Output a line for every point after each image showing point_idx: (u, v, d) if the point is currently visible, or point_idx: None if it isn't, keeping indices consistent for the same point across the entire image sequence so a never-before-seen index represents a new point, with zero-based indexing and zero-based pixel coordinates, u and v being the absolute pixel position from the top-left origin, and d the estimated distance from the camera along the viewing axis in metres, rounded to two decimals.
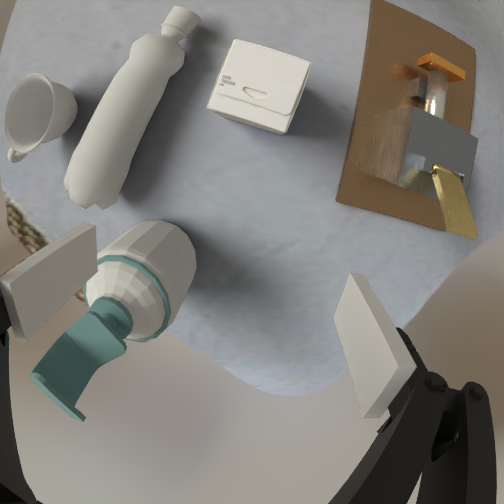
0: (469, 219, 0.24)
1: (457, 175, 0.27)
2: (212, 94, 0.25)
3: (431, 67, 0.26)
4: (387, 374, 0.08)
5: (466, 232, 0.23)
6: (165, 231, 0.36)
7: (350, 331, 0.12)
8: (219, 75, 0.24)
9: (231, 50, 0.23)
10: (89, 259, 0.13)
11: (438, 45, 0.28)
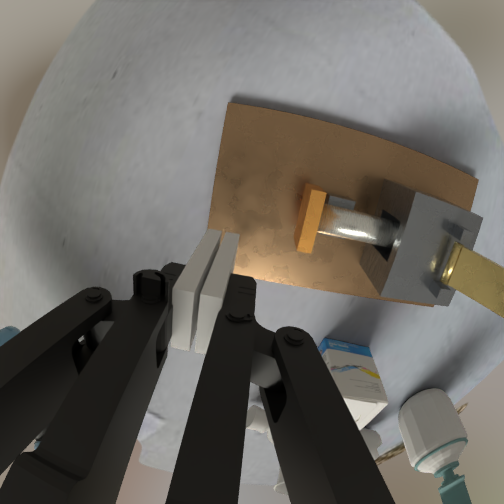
0: None
1: (458, 249, 0.23)
2: None
3: None
4: None
5: None
6: (412, 419, 0.40)
7: None
8: None
9: None
10: None
11: (251, 179, 0.31)
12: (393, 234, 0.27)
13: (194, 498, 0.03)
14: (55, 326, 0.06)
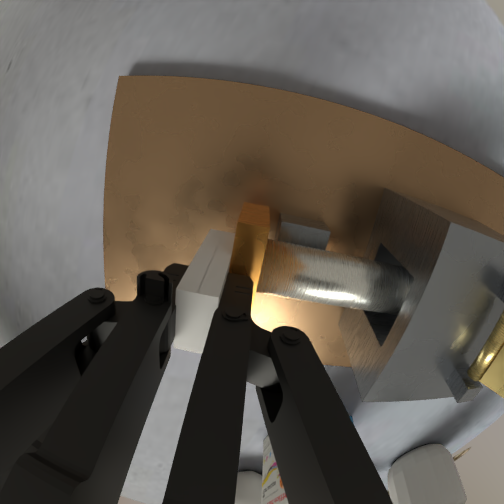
0: None
1: None
2: None
3: None
4: None
5: None
6: (403, 483, 0.28)
7: None
8: None
9: None
10: None
11: (153, 195, 0.18)
12: (405, 295, 0.15)
13: (190, 498, 0.03)
14: (58, 327, 0.06)
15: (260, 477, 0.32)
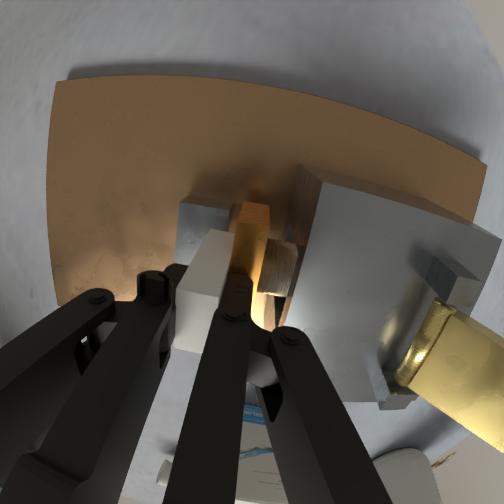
0: None
1: (441, 319, 0.10)
2: None
3: None
4: None
5: None
6: None
7: None
8: None
9: None
10: None
11: (82, 185, 0.18)
12: None
13: (191, 499, 0.03)
14: (58, 327, 0.06)
15: None
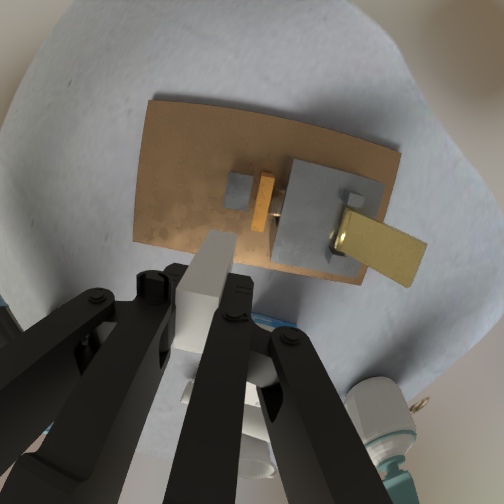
0: (404, 245, 0.22)
1: (348, 214, 0.27)
2: None
3: None
4: None
5: (418, 263, 0.22)
6: (354, 406, 0.44)
7: None
8: (254, 405, 0.37)
9: None
10: None
11: (166, 162, 0.35)
12: None
13: (190, 498, 0.03)
14: (58, 327, 0.06)
15: None
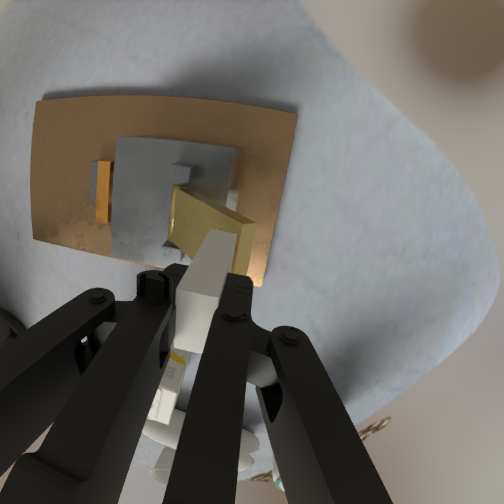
0: (221, 228, 0.16)
1: (173, 192, 0.20)
2: (157, 420, 0.31)
3: None
4: None
5: (240, 255, 0.16)
6: None
7: None
8: None
9: None
10: None
11: (49, 159, 0.29)
12: None
13: (190, 498, 0.03)
14: (58, 327, 0.06)
15: None
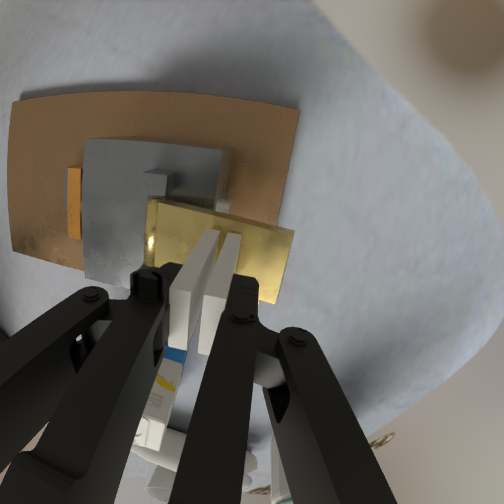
0: (256, 243, 0.15)
1: (153, 208, 0.16)
2: (147, 447, 0.27)
3: None
4: (203, 305, 0.10)
5: (285, 265, 0.16)
6: (276, 450, 0.34)
7: None
8: None
9: None
10: (213, 263, 0.15)
11: (25, 165, 0.24)
12: None
13: (195, 499, 0.03)
14: (53, 325, 0.06)
15: None
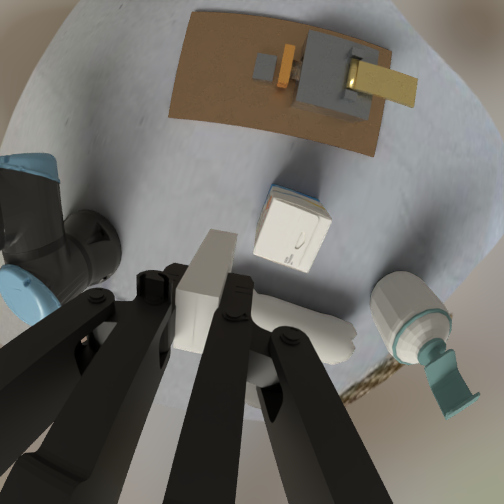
0: (404, 80, 0.27)
1: (356, 62, 0.28)
2: (298, 269, 0.39)
3: (288, 77, 0.35)
4: None
5: (415, 90, 0.28)
6: (382, 296, 0.46)
7: None
8: (283, 264, 0.39)
9: (263, 256, 0.38)
10: None
11: (204, 52, 0.37)
12: None
13: (190, 498, 0.03)
14: (58, 327, 0.06)
15: None
